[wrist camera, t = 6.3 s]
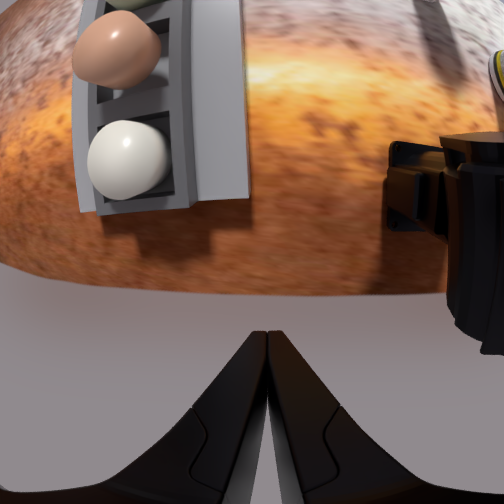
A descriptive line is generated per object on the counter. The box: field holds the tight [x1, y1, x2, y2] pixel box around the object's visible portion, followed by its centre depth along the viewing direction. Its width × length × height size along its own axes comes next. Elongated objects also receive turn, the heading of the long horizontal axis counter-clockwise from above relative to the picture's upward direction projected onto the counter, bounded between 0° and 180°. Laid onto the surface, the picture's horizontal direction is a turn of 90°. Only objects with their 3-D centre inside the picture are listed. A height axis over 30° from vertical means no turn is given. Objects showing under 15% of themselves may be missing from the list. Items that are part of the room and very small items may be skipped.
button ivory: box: [87, 120, 172, 200], centre depth 13 cm, size 4×4×3 cm
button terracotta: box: [72, 10, 162, 90], centre depth 9 cm, size 4×4×3 cm
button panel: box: [72, 0, 251, 216], centre depth 13 cm, size 12×18×4 cm, turn 3°
